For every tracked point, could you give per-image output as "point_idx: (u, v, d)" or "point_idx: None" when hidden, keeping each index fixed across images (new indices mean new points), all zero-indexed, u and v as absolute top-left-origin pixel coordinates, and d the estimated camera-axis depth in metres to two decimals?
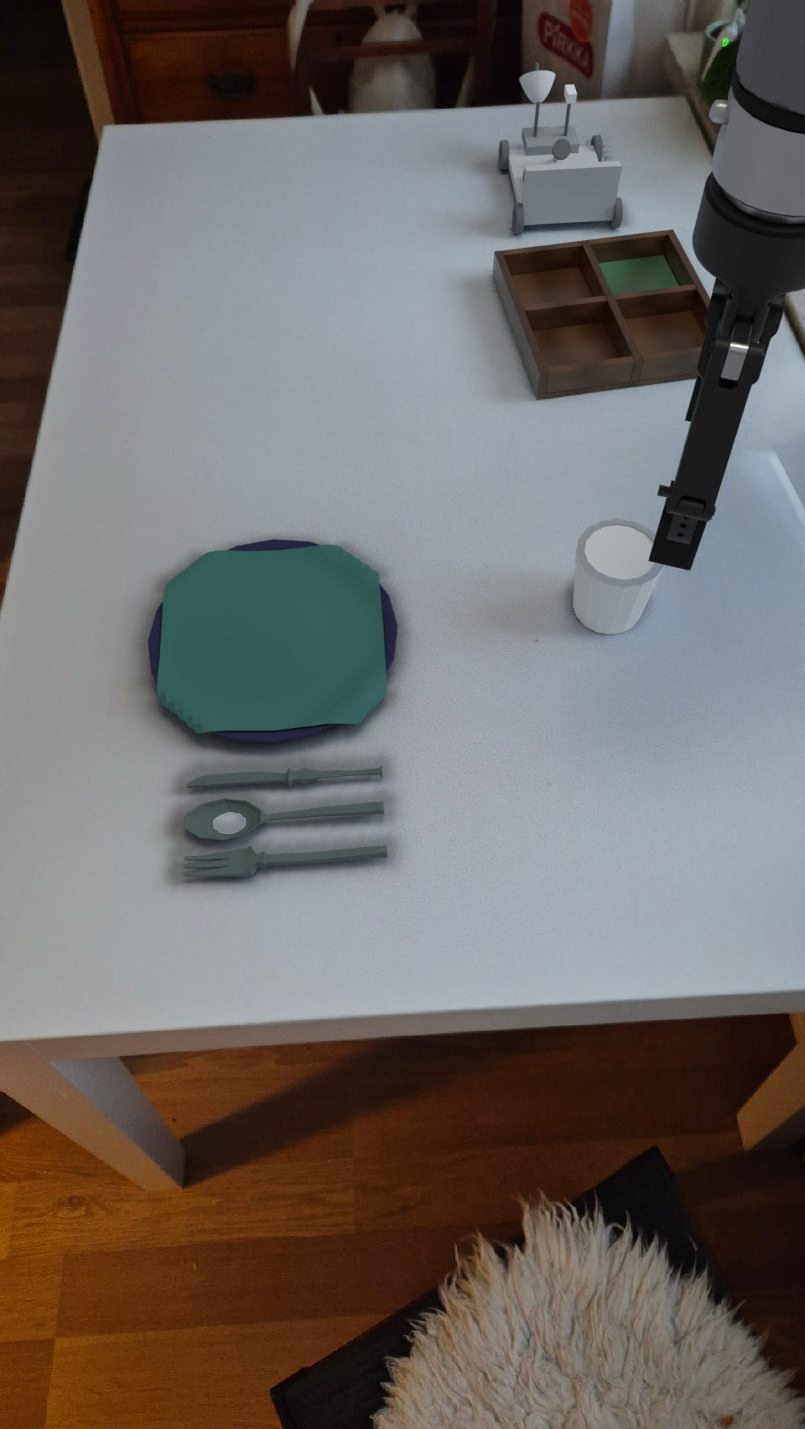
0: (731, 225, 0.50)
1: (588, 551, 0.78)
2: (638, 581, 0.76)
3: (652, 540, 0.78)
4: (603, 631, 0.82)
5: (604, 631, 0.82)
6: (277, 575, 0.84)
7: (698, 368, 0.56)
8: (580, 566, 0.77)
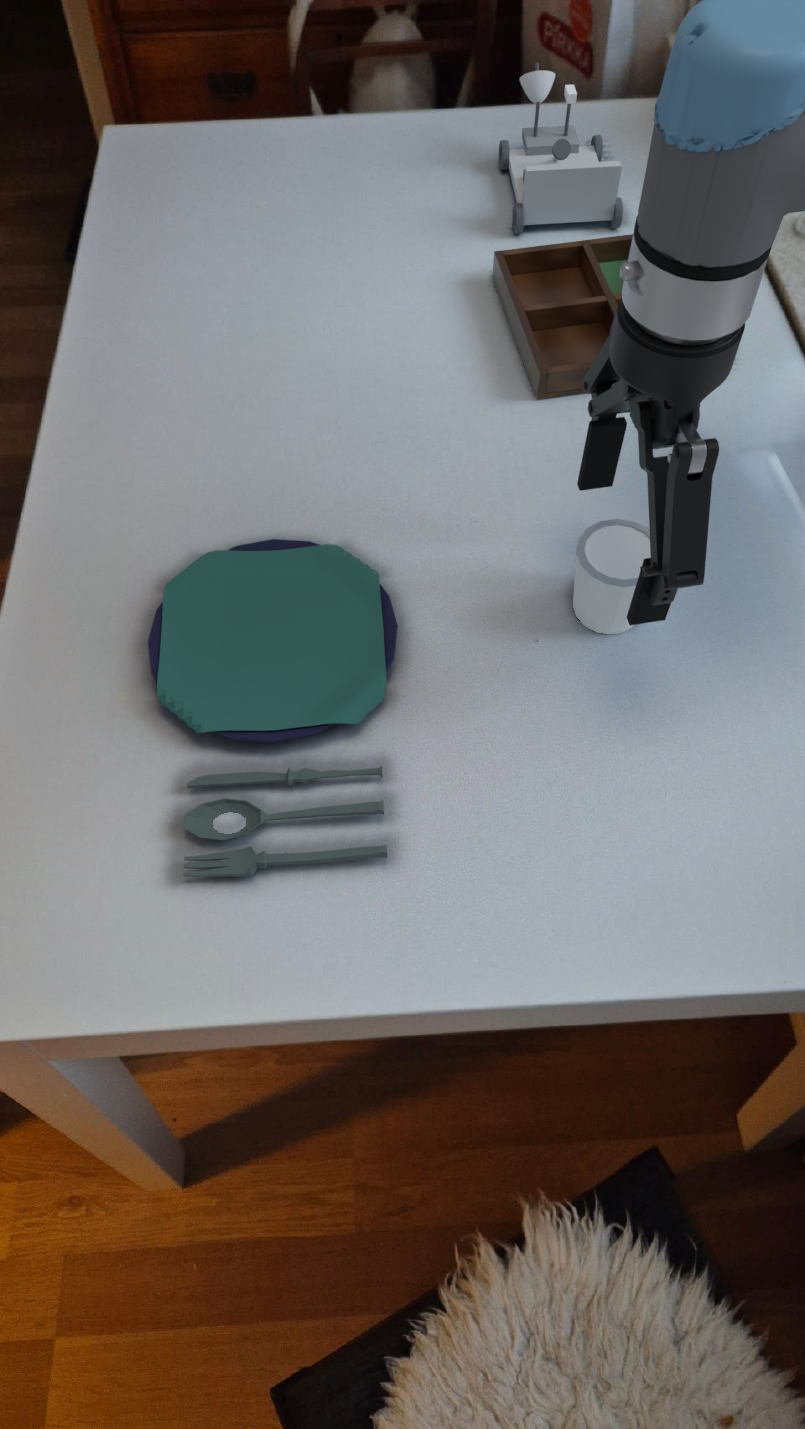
0: (666, 356, 0.58)
1: (588, 551, 0.78)
2: None
3: None
4: (603, 631, 0.82)
5: (604, 631, 0.82)
6: (277, 575, 0.84)
7: (647, 466, 0.64)
8: (580, 566, 0.77)
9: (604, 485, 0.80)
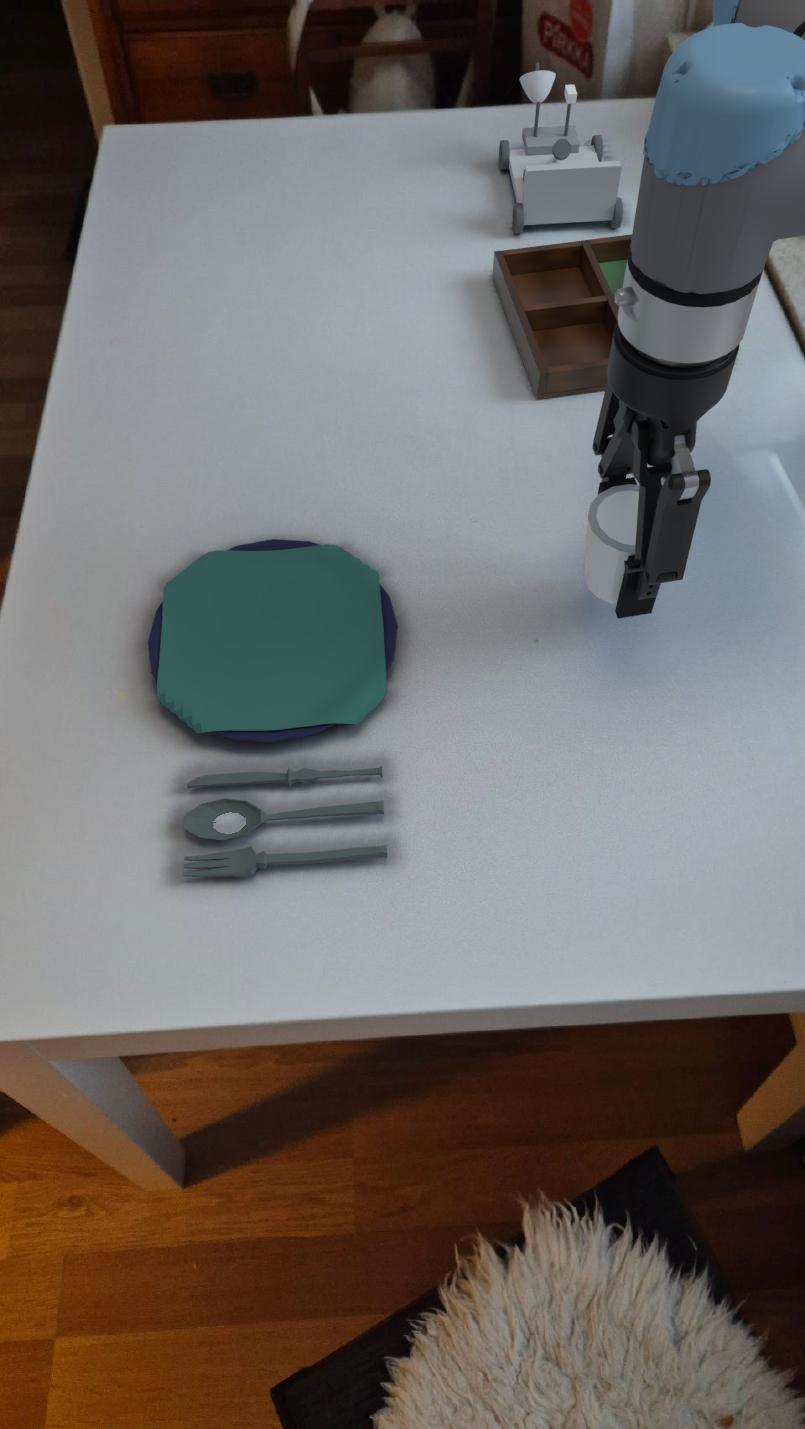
0: (661, 378, 0.59)
1: (600, 517, 0.75)
2: None
3: None
4: (616, 602, 0.79)
5: None
6: (277, 575, 0.84)
7: (640, 482, 0.67)
8: (592, 533, 0.74)
9: None
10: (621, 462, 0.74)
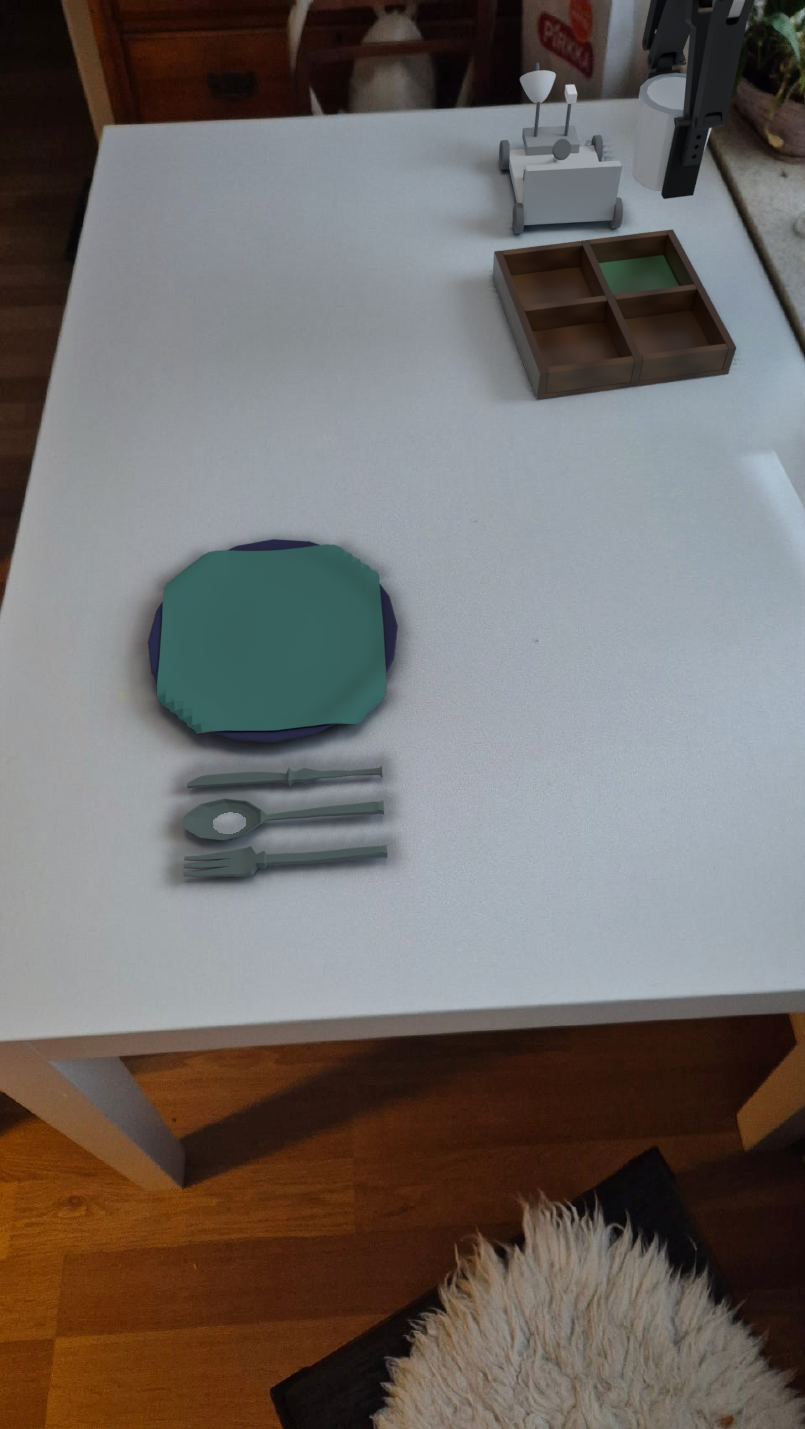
0: None
1: (650, 93, 0.85)
2: None
3: None
4: (661, 188, 0.89)
5: None
6: (277, 575, 0.84)
7: (692, 21, 0.77)
8: (643, 105, 0.85)
9: None
10: (669, 43, 0.85)
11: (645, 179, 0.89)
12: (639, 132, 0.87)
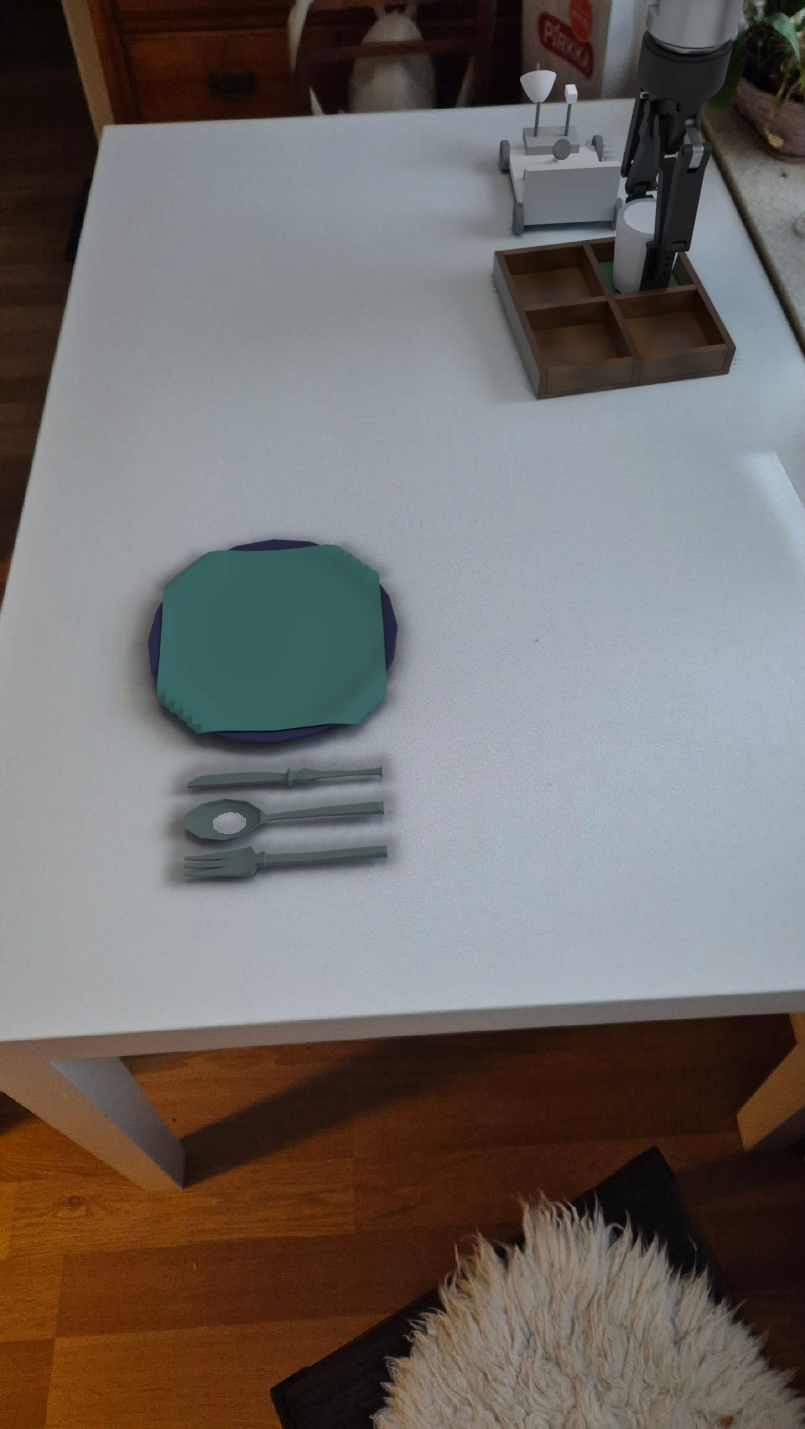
0: (677, 63, 0.83)
1: (626, 218, 0.98)
2: None
3: None
4: None
5: None
6: (277, 575, 0.84)
7: (659, 166, 0.91)
8: (620, 228, 0.98)
9: None
10: (643, 175, 0.98)
11: (623, 287, 1.03)
12: (617, 249, 1.00)
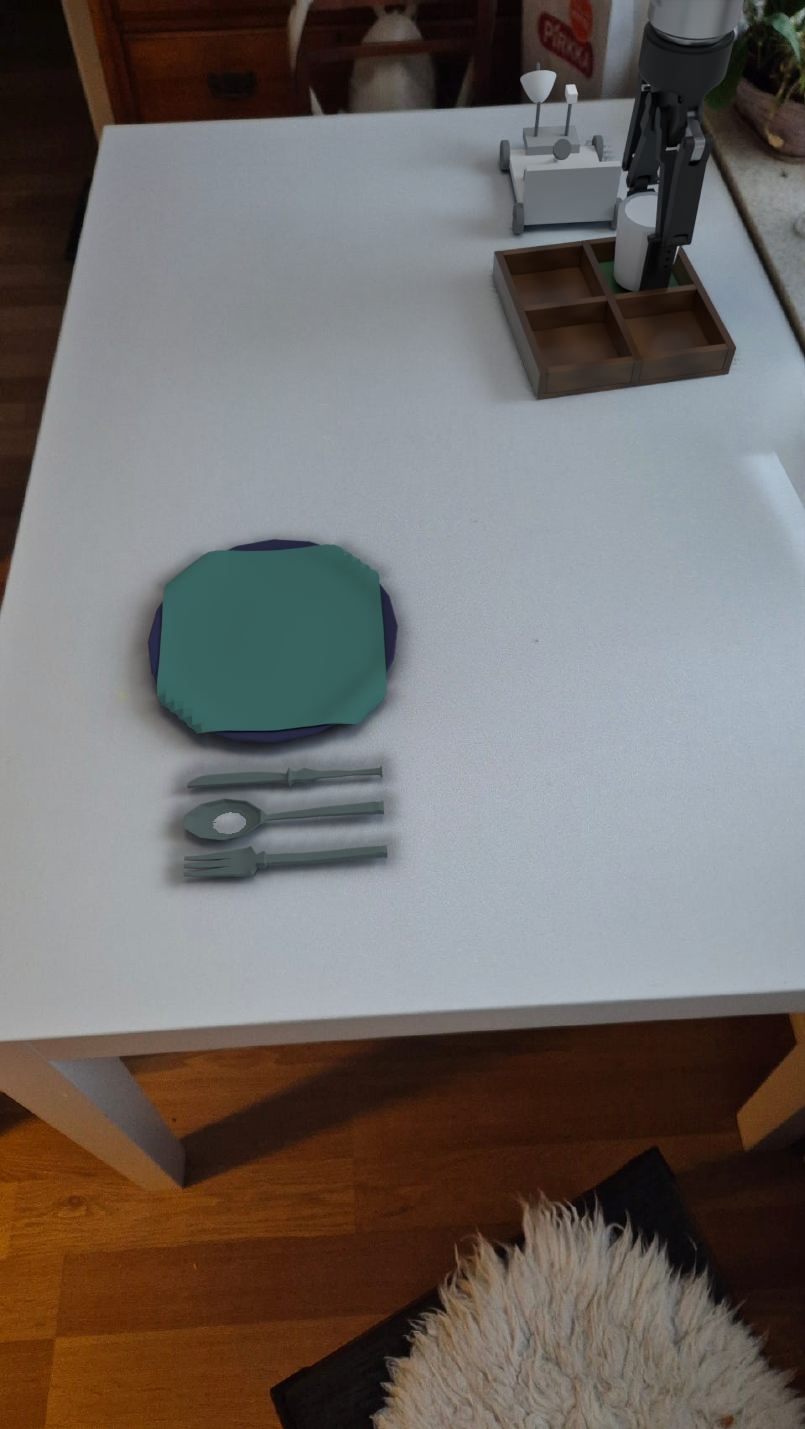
0: (679, 54, 0.83)
1: (627, 211, 0.98)
2: None
3: None
4: (638, 289, 1.02)
5: None
6: (277, 575, 0.84)
7: (661, 159, 0.90)
8: (621, 222, 0.97)
9: None
10: (644, 168, 0.97)
11: (624, 281, 1.02)
12: (618, 243, 1.00)
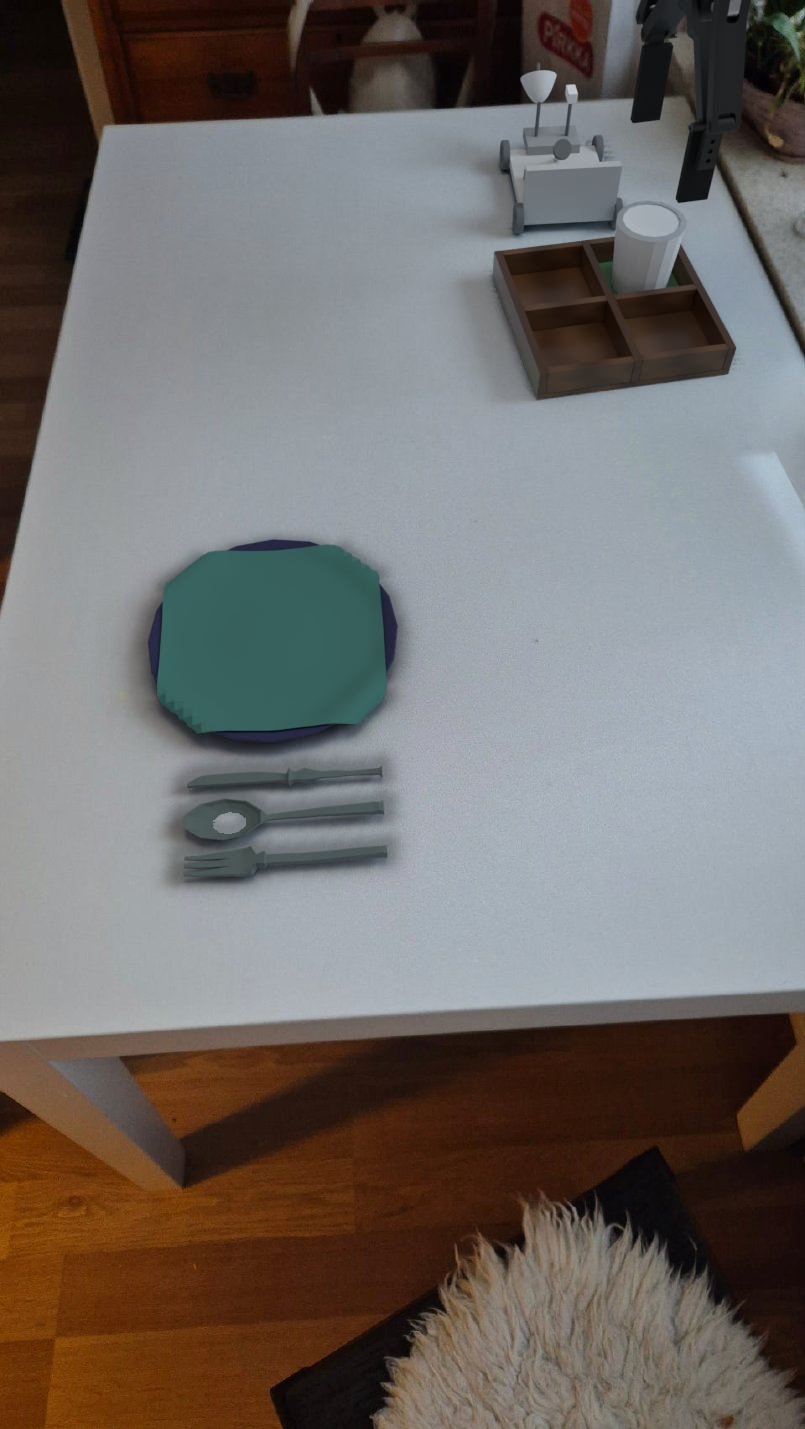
0: None
1: (626, 220, 0.99)
2: (665, 238, 0.97)
3: (676, 213, 0.99)
4: None
5: None
6: (277, 575, 0.84)
7: (694, 28, 0.80)
8: (619, 231, 0.98)
9: (653, 118, 0.96)
10: (662, 26, 0.89)
11: (622, 289, 1.03)
12: (616, 251, 1.01)
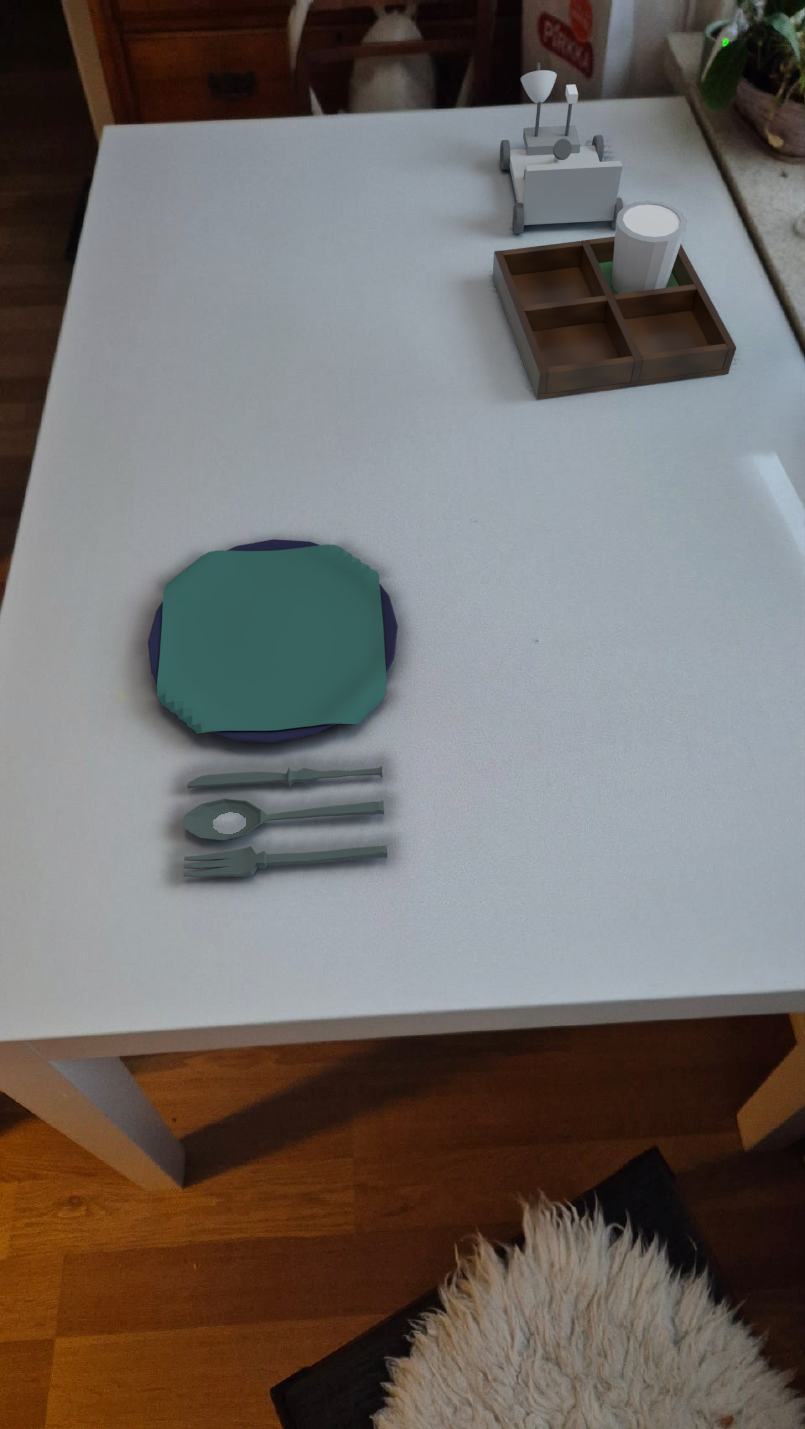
0: None
1: (626, 220, 0.99)
2: (665, 238, 0.97)
3: (676, 213, 0.99)
4: None
5: None
6: (277, 575, 0.84)
7: None
8: (619, 231, 0.98)
9: None
10: None
11: (622, 289, 1.03)
12: (616, 251, 1.01)
